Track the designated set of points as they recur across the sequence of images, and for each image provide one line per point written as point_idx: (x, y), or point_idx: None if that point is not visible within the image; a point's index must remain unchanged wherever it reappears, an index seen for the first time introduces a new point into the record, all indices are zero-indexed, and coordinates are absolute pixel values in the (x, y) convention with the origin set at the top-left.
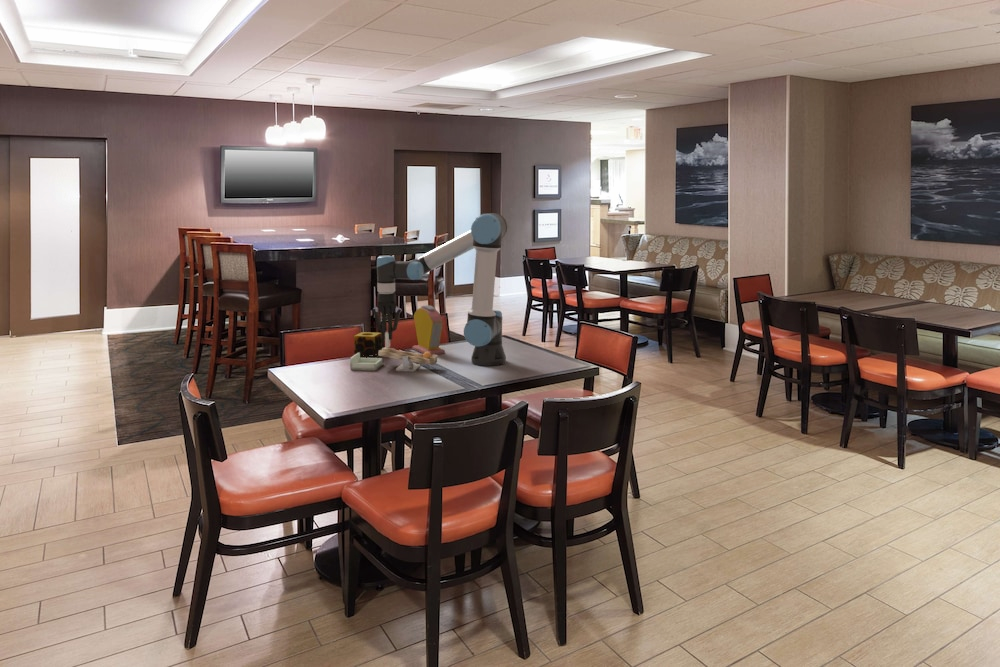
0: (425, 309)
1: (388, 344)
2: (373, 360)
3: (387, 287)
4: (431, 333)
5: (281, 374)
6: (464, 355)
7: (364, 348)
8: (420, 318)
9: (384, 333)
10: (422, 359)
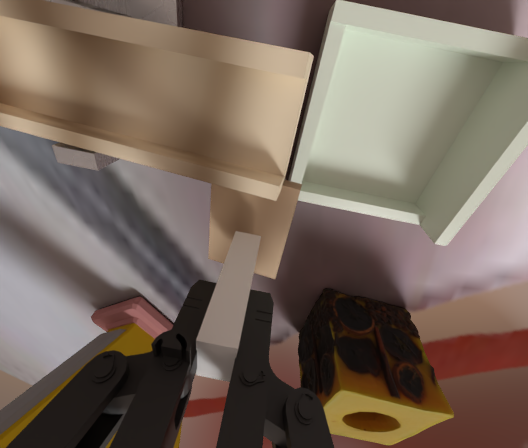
0: None
1: (231, 245)
2: (339, 193)
3: None
4: (64, 382)
5: None
6: (25, 285)
7: (378, 334)
8: None
9: (249, 345)
10: None
